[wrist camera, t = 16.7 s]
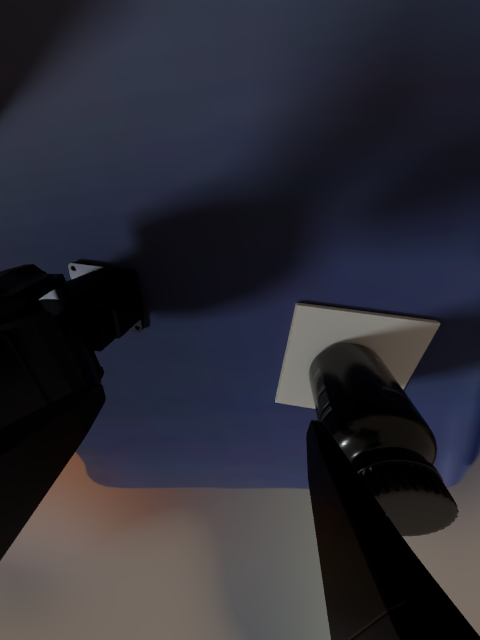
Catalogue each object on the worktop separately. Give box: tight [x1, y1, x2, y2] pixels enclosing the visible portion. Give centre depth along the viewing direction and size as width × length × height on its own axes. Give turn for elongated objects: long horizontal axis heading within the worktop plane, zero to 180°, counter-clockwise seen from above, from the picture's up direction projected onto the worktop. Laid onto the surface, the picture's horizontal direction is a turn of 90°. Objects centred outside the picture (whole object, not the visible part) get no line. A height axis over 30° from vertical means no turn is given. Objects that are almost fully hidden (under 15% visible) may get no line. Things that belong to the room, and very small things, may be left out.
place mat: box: [275, 302, 440, 409], centre depth 23 cm, size 12×12×1 cm
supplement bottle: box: [309, 343, 459, 536], centre depth 17 cm, size 7×7×12 cm
